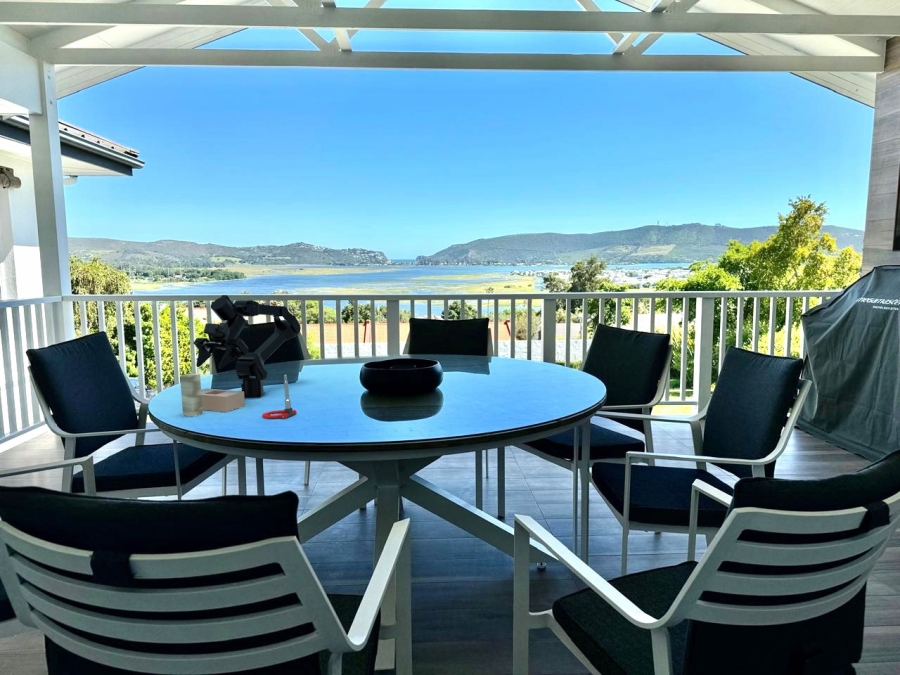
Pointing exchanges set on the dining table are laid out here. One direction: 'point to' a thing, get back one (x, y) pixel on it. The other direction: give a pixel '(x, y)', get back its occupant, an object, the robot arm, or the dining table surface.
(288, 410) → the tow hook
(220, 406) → the flat beige box
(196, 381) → the birch bar
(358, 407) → the dining table surface
